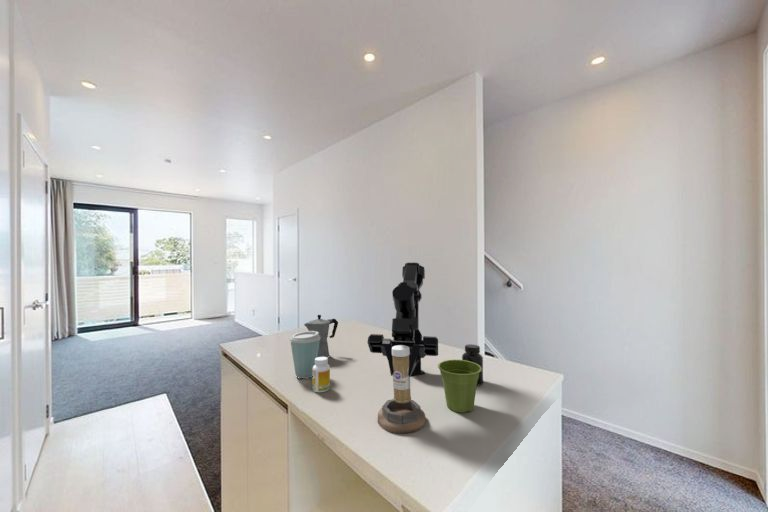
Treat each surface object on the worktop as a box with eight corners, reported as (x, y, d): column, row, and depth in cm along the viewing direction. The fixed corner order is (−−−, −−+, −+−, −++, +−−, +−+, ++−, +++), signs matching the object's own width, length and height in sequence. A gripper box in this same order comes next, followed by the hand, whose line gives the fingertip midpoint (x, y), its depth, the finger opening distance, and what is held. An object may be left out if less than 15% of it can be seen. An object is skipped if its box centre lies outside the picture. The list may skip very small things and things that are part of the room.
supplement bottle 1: (332, 387, 97) (332, 356, 97) (324, 394, 92) (324, 361, 92) (318, 385, 99) (318, 355, 99) (309, 391, 94) (309, 360, 94)
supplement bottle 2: (484, 386, 97) (484, 349, 97) (462, 385, 98) (462, 348, 99) (481, 378, 104) (481, 343, 104) (461, 377, 105) (461, 342, 106)
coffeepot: (308, 363, 121) (308, 318, 121) (300, 357, 128) (300, 314, 129) (342, 356, 130) (342, 314, 130) (333, 351, 137) (333, 311, 138)
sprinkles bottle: (391, 403, 75) (389, 349, 75) (396, 395, 79) (394, 344, 80) (409, 405, 74) (407, 349, 74) (413, 396, 78) (411, 344, 79)
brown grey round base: (370, 414, 80) (370, 400, 80) (411, 405, 84) (411, 393, 84) (389, 438, 68) (389, 422, 69) (434, 427, 73) (434, 412, 73)
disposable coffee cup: (297, 384, 100) (297, 338, 100) (284, 375, 108) (284, 332, 108) (325, 376, 107) (326, 333, 107) (311, 368, 115) (311, 328, 115)
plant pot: (435, 397, 90) (435, 359, 90) (475, 397, 89) (475, 359, 89) (441, 417, 78) (441, 373, 78) (487, 418, 77) (487, 374, 78)
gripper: (368, 304, 83) (358, 358, 72) (437, 306, 79) (438, 362, 68) (374, 327, 90) (366, 378, 79) (438, 329, 87) (438, 383, 76)
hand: (400, 375), depth 76 cm, fingers closed on sprinkles bottle, 4 cm apart
